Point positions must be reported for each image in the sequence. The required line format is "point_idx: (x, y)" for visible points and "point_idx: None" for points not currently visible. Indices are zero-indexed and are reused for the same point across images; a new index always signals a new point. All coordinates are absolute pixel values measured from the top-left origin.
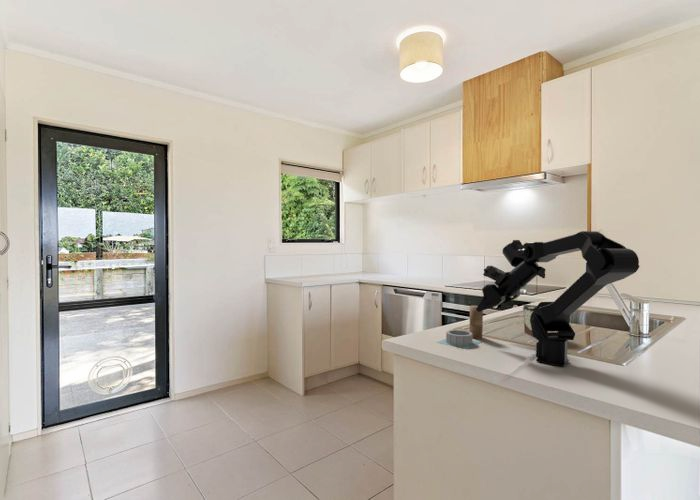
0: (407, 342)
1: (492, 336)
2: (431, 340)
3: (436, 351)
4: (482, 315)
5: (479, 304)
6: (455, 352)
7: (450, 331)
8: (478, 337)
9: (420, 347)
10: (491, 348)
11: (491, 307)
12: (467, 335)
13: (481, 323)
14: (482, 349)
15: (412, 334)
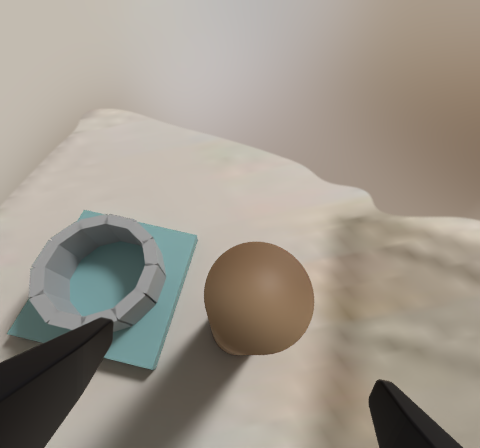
0: (103, 143)
1: (355, 385)
2: (156, 189)
3: (14, 231)
4: (247, 354)
5: (18, 359)
6: (13, 290)
7: (121, 227)
8: (215, 340)
9: (54, 182)
10: (124, 426)
11: (376, 433)
12: (44, 312)
13: (230, 351)
14: (91, 386)
15: (204, 134)
